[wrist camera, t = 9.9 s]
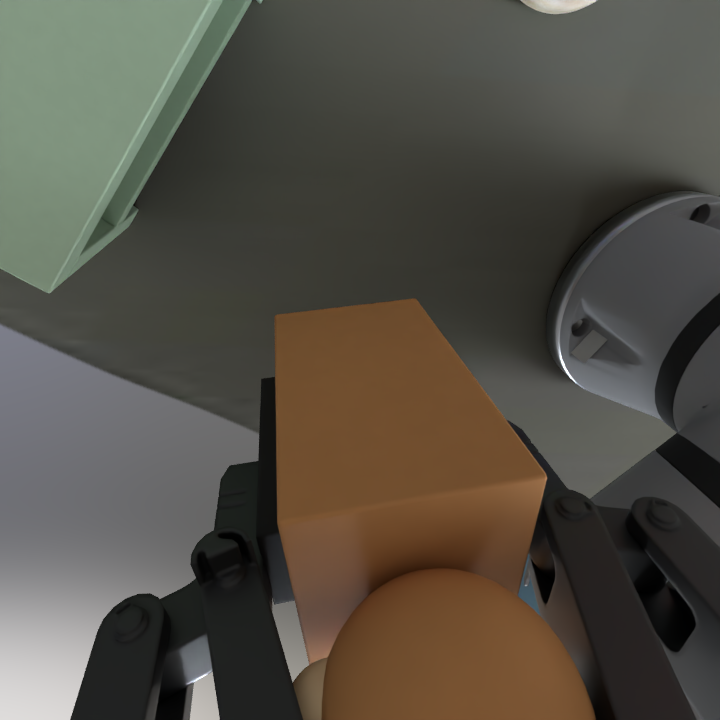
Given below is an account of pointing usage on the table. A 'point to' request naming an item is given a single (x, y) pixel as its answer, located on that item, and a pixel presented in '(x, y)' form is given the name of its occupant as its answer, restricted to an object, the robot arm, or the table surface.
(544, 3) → the stacking toy
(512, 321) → the table surface
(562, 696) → the plush bear
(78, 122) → the pale green square stand
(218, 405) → the table surface
